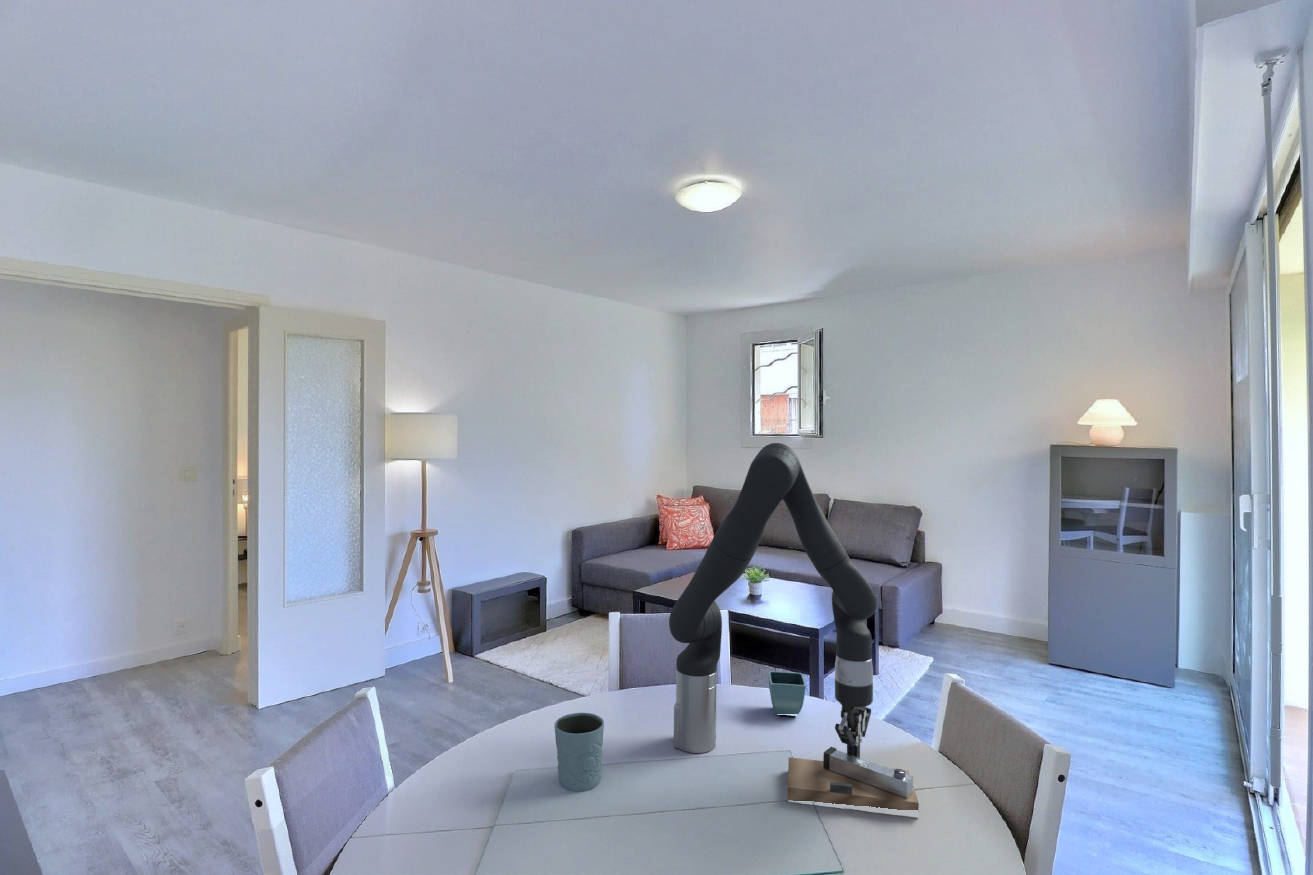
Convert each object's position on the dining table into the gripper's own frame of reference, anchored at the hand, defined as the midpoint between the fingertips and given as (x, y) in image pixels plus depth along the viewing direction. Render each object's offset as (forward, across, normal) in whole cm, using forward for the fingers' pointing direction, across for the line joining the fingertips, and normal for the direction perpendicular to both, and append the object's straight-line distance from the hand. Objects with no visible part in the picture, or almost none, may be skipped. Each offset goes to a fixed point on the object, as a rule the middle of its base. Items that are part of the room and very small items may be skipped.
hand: (853, 760), depth 139 cm
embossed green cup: (+4, -37, +43) cm, 57 cm away
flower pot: (+4, +20, +27) cm, 34 cm away
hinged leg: (+1, -3, -4) cm, 6 cm away
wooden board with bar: (+4, -5, -1) cm, 7 cm away
